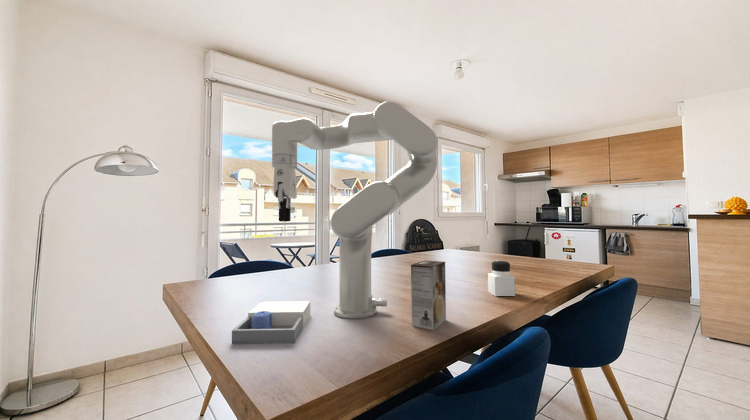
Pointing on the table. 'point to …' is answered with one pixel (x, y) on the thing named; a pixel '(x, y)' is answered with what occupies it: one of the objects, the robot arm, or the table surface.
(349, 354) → the table surface
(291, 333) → the box
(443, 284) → the coffee box
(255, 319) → the decorative dice
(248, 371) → the table surface
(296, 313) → the white box lid
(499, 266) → the medicine bottle
